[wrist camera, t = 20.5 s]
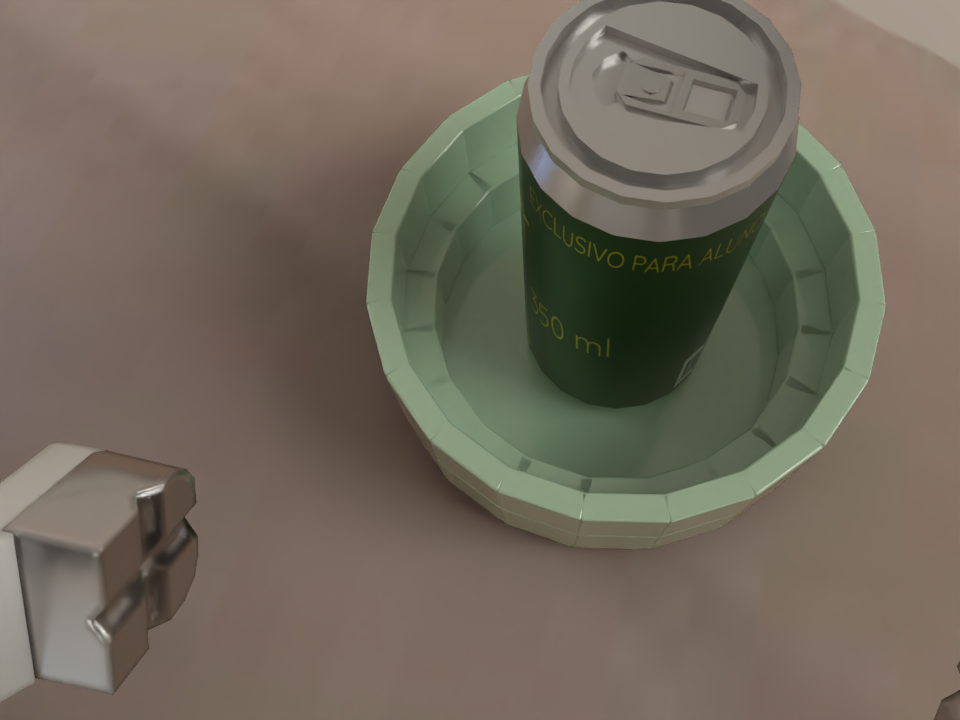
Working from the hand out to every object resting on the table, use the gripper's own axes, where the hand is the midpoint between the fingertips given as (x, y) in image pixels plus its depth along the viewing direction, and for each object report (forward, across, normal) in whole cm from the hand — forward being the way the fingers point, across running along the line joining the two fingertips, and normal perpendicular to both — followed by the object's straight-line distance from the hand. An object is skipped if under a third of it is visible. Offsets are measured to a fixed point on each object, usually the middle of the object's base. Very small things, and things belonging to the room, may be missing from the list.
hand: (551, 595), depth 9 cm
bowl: (+18, 0, +5) cm, 19 cm away
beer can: (+18, 0, +5) cm, 19 cm away
